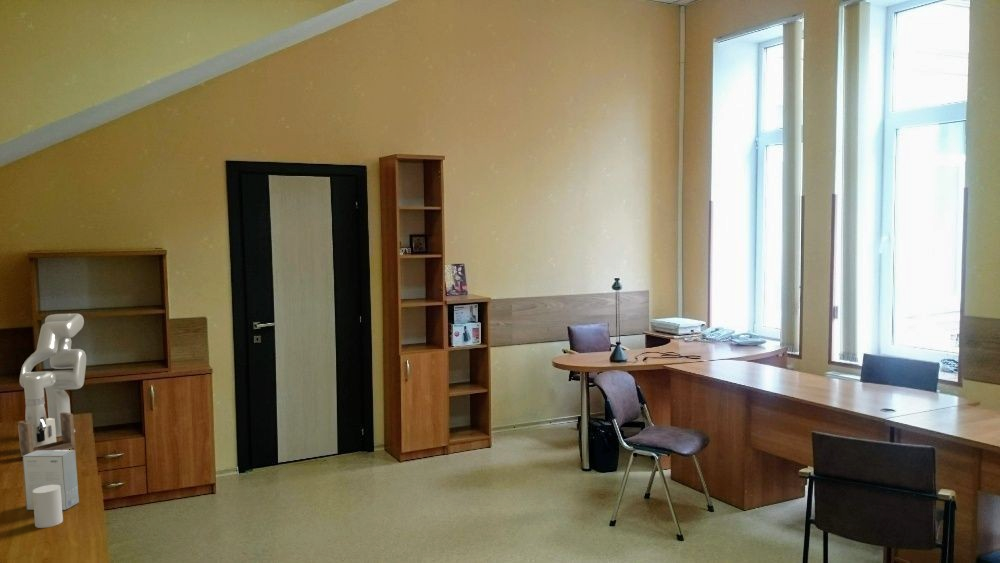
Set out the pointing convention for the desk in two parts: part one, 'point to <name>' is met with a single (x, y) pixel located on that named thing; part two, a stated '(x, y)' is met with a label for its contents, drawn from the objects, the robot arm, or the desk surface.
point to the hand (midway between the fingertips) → (38, 440)
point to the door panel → (45, 433)
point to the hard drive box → (51, 474)
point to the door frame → (65, 444)
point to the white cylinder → (47, 506)
